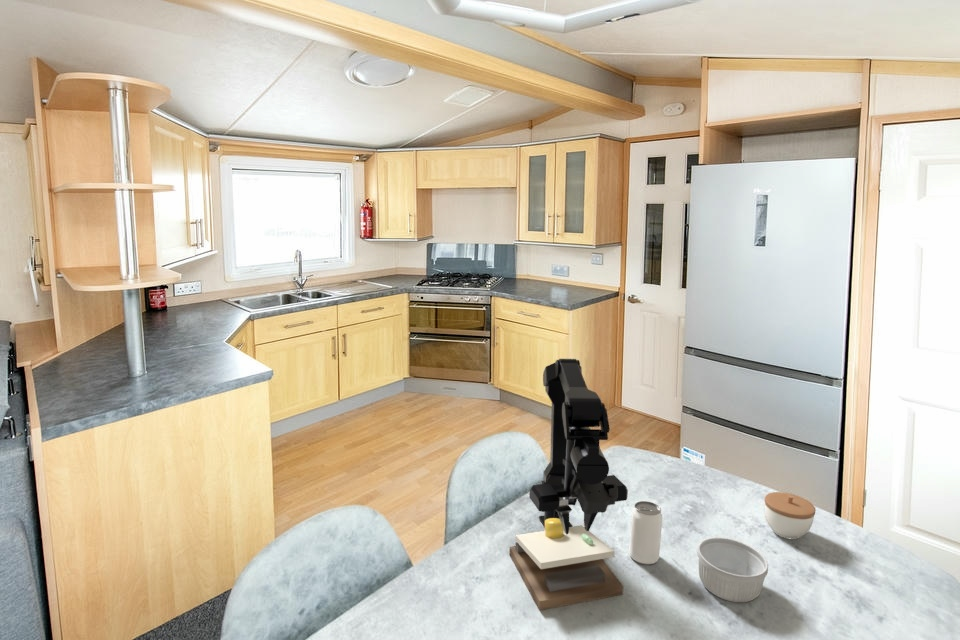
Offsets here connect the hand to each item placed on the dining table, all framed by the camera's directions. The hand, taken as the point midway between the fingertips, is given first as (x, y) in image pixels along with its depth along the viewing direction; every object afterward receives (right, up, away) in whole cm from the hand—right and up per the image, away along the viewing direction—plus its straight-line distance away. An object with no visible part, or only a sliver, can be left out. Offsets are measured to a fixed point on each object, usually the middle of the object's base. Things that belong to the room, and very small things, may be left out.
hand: (576, 531), depth 111 cm
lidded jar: (+55, -9, +24) cm, 61 cm away
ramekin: (+32, -13, +5) cm, 35 cm away
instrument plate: (-2, -6, +7) cm, 9 cm away
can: (+17, -11, +14) cm, 25 cm away
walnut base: (-2, -12, +7) cm, 14 cm away
